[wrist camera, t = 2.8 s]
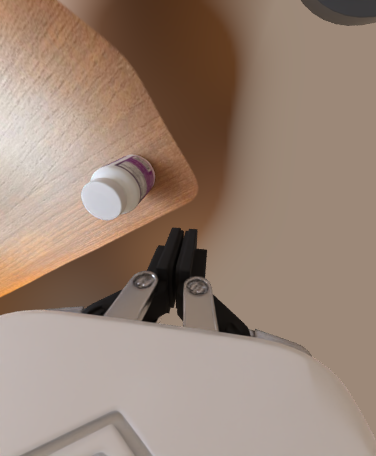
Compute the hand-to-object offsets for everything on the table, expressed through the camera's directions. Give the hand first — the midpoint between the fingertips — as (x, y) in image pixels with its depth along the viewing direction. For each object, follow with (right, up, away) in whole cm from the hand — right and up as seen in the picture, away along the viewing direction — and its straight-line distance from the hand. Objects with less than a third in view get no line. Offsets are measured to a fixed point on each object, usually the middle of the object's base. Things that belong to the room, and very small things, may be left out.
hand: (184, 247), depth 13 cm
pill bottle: (-7, +9, +13) cm, 17 cm away
